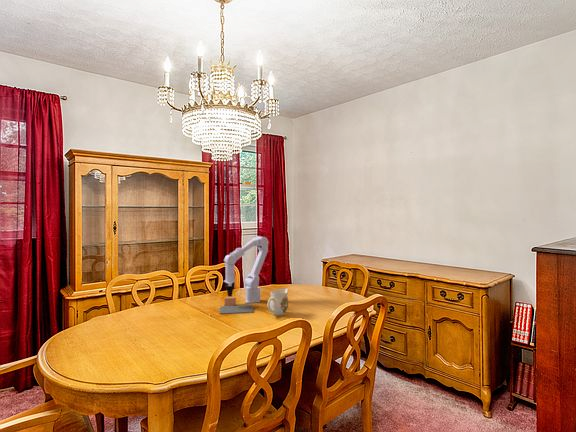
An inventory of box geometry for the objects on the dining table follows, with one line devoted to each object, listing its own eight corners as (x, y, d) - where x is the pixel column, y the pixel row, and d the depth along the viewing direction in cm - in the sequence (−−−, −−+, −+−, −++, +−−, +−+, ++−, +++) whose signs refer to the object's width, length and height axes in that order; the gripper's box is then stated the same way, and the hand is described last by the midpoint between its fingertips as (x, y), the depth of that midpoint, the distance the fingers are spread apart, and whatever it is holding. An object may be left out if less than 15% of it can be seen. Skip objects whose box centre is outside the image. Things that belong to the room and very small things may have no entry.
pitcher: (260, 316, 197) (260, 292, 197) (280, 308, 212) (280, 286, 211) (275, 320, 191) (275, 295, 190) (294, 312, 205) (294, 289, 205)
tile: (235, 304, 221) (235, 297, 221) (235, 305, 219) (235, 297, 219) (224, 305, 220) (224, 297, 220) (224, 306, 218) (224, 298, 218)
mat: (252, 305, 218) (252, 304, 218) (253, 312, 204) (253, 311, 204) (220, 307, 215) (220, 306, 215) (219, 314, 201) (219, 313, 201)
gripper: (224, 271, 225) (224, 292, 226) (223, 276, 211) (223, 298, 212) (234, 271, 227) (234, 291, 227) (234, 275, 212) (234, 297, 213)
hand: (230, 294), depth 219 cm, fingers open, 7 cm apart
